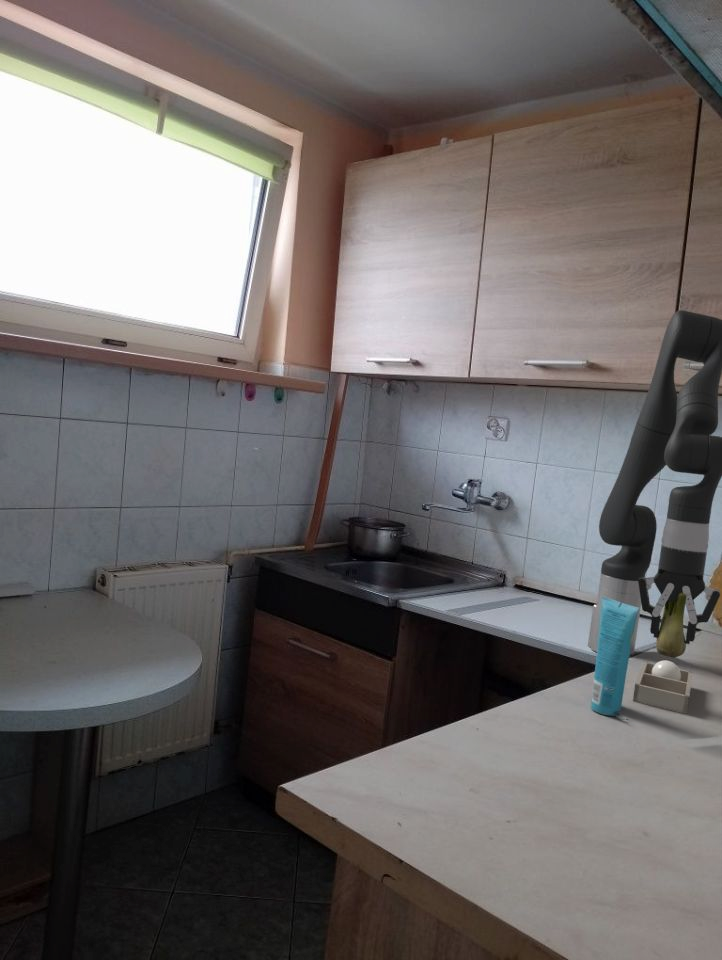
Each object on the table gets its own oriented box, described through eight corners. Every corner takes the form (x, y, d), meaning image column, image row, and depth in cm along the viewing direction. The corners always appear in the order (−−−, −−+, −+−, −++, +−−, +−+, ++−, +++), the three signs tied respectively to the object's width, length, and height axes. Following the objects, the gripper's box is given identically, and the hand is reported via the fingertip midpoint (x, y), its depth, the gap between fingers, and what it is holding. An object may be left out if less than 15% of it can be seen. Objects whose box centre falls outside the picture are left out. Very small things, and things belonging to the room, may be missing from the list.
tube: (631, 716, 129) (647, 606, 128) (616, 721, 126) (631, 608, 125) (594, 701, 135) (608, 595, 133) (578, 705, 132) (592, 597, 130)
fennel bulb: (655, 648, 139) (663, 584, 139) (683, 654, 138) (692, 589, 137) (654, 656, 134) (663, 589, 133) (684, 662, 132) (694, 594, 131)
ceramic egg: (643, 683, 145) (647, 657, 145) (663, 682, 147) (667, 656, 147) (664, 693, 140) (668, 666, 140) (685, 692, 143) (689, 665, 142)
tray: (641, 681, 150) (643, 661, 150) (689, 692, 146) (692, 672, 146) (632, 706, 134) (635, 684, 134) (686, 719, 131) (689, 697, 130)
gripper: (728, 550, 135) (715, 644, 136) (643, 537, 141) (631, 627, 142) (729, 555, 128) (715, 653, 129) (639, 541, 134) (627, 635, 135)
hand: (671, 639), depth 136 cm, fingers closed on fennel bulb, 4 cm apart
